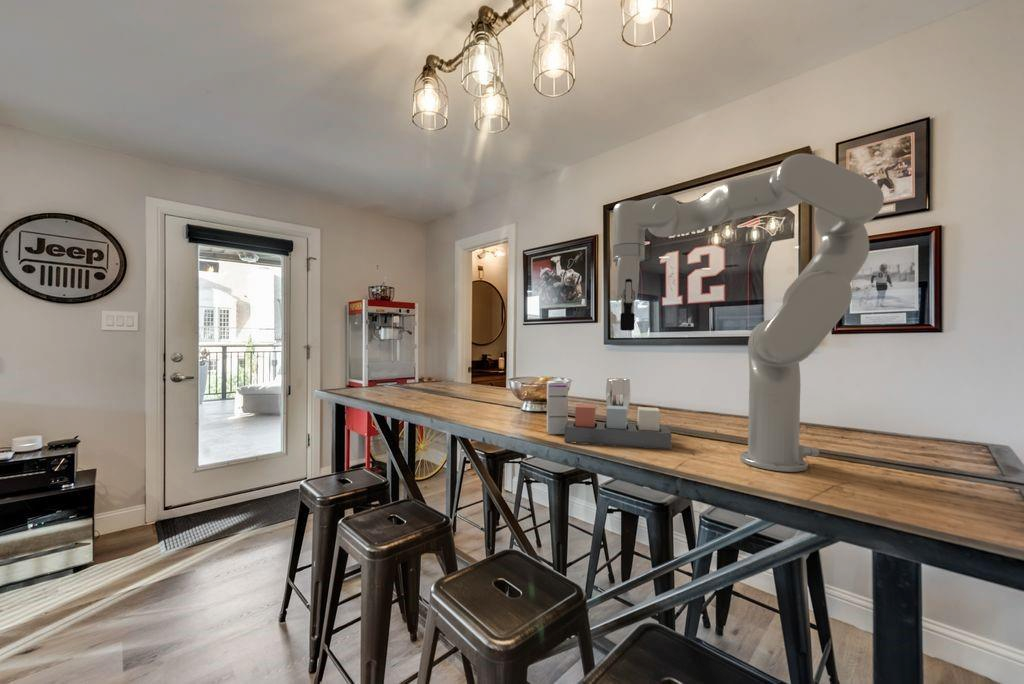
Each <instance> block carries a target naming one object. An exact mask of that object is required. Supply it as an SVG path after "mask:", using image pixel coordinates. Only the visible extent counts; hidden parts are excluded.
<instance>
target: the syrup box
mask: <svg viewBox="0 0 1024 684" xmlns="http://www.w3.org/2000/svg"><path fill="white" fill-rule="evenodd" d="M568 386H569V384H568V383H567V381H565V380H550V381H549V380H548V381H546V431H547V434H548V435H555V434H565V425H566V423H567V422H568V421H569V397H568V396H569V390H568V389H569V387H568Z"/></svg>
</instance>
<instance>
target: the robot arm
mask: <svg viewBox="0 0 1024 684" xmlns="http://www.w3.org/2000/svg"><path fill="white" fill-rule="evenodd" d="M884 201H885V196H884V193H883V190H882V189H881V187H880V186H879V185H878V184H877V183H875V181H873V180H872V179H870V178H868V177H866V176H864V175H861V174H860V173H857V172H855V171H853V170H851V169H848V168H846V167H843V166H842V165H839V164H837V163H835V162H833V161H831V160H829V159H826V158H823V157H821V156H817V155H815V154H811V153H804V152H803V153H796V154H793V155H790V156H788V157H786V158H785V159H784V160H783V161H782V162H781V163H780V164H779V165H778V167H777V168H776V169H774V170H770V171H765V172H762V173H757V174H753V175H748V176H744V177H740V178H735V179H732V180H731V179H730V180H727V181H725V182H723V183H721V184H719V185H718V186H716V187H715V188H714V189H712V190H710V191H709V192H708V193H706V194H705V195H703V196H701V197H699V198H696V199H695V200H691V201H688V202H684V203H681V204H680V203H679V202H678V200H677V199H676V198H674V197H673V196H671V195H667V194H666V195H665V194H664V195H663V194H661V195H657V196H653V197H649V198H645V199H641V200H623V201H620V202H618V203H617V204H615V205H614V207H613V210H612V211H613V212H612V257H611V259H612V262H614V263H616V267H615V302H617V303H618V302H619V301H620V300H621V313H620V318H619V320H620V322H619V323H620V324H619V325H620V328H619V329H620V331H630V332H631V331H634V330H635V313H634V312H635V311H634V310H635V305H634V304H635V302H636V300H637V299H638V294H639V293H638V292H639V283H640V282H639V281H640V262H644V261H645V259H646V258H645V255H646V254H645V253H646V252H645V250H646V248H645V247H646V246H645V245H646V230H647V229H648V231H649V232H650V234H652V235H653V236H655V237H658V238H667V237H668V238H670V237H675V236H680V235H686V234H689V233H693V232H697V231H700V230H701V231H702V230H704V229H707V228H710V227H714V226H716V225H721V224H723V223H725V222H729V221H732V220H733V221H734V220H736V219H741V218H746V217H751V216H757V215H761V214H767V213H770V212H771V213H772V212H775V211H776V212H777V211H781V210H785V209H790V208H793V207H795V206H798V205H800V204H801V203H803V202H804V203H806V204H808V205H810V206H812V207H814V208H815V209H816V210H815V212H814V216H813V223H814V226H815V228H816V231H817V233H818V236H819V239H820V241H819V242H820V243H819V246H818V249H817V251H816V253H814V255H813V256H812V258H811V260H810V261H809V263H807V265H806V266H805V267H804V268H803V270H802V271H801V272H800V273H799V275H798V276H797V278H795V279H794V281H793V282H792V283H791V284H790V285H789V286H788V288H787V289H786V290H785V293H784V295H783V297H782V305H781V306H780V308H779V309H778V310H777V311H776V312H775V314H774V315H773V317H772V318H770V319H767V320H764V321H762V322H760V323H758V324H757V325H756V326H754V328H753V329H752V330H751V332H750V334H749V337H748V341H747V353H748V366H749V367H748V369H749V376H748V377H749V383H748V385H749V386H748V387H749V390H748V426H747V427H748V428H747V429H748V433H747V434H748V435H747V451H743V452H741V453H740V454H739V459H740V461H741V462H743V463H744V464H746V465H749V466H752V467H756V468H760V469H762V470H763V469H764V470H767V471H773V472H775V471H776V472H782V473H783V472H785V473H798V472H799V473H800V472H804V471H806V470H808V462H807V461H806V460H804V458H806V457H807V456H808V457H817V456H819V455H820V449H819V448H818V447H816V446H806V447H805V446H804V445H803V444H800V425H801V424H800V420H801V418H800V415H801V414H800V413H801V369H800V363H801V362H803V361H804V360H806V359H807V358H808V357H810V355H811V354H812V353H813V352H814V351H815V350H816V349H817V348H818V347H819V345H820V344H821V343H823V341H824V340H825V338H826V337H827V336H828V335H829V334H830V332H831V331H832V330H833V329H834V327H835V326H836V325H837V324H838V322H839V321H840V320H841V319H842V318H843V316H844V315H845V314H846V313H847V310H848V309H849V307H850V304H851V302H852V299H853V289H852V286H851V283H852V281H853V280H854V278H855V277H856V276H857V274H858V273H859V272H860V270H861V269H862V267H863V266H864V264H865V262H866V261H867V259H868V256H869V253H870V239H869V235H868V230H867V228H866V226H865V224H866V223H868V222H870V221H872V220H873V219H874V218H875V217H877V215H879V213H880V211H881V210H882V208H883V205H884Z"/></svg>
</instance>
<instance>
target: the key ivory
mask: <svg viewBox="0 0 1024 684" xmlns="http://www.w3.org/2000/svg"><path fill="white" fill-rule="evenodd" d="M660 418H661V411H660V409H659V408H658V407H647V406H646V407H643V406H637V424H638V429H639V430H650V431H660V426H661V425H660V423H661V419H660Z"/></svg>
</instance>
